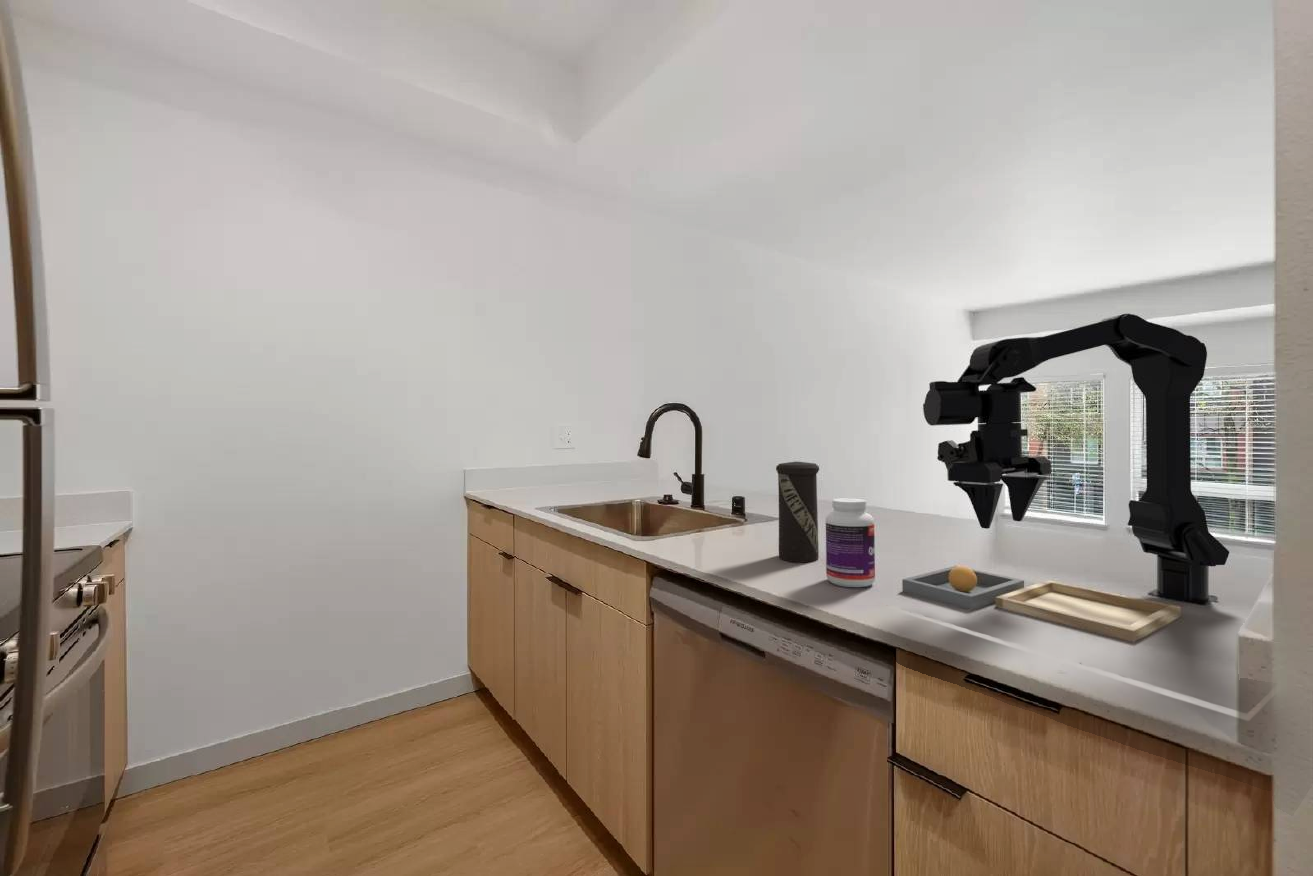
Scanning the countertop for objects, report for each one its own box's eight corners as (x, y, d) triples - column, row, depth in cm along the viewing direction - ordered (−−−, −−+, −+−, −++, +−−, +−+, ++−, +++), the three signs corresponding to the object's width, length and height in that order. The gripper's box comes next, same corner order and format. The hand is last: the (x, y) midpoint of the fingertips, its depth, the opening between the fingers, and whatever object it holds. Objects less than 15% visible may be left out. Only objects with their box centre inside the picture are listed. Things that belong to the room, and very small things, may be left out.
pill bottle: (879, 590, 90) (878, 503, 90) (828, 588, 92) (827, 502, 92) (870, 577, 98) (869, 497, 98) (823, 575, 100) (823, 496, 99)
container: (778, 562, 110) (777, 463, 109) (775, 552, 119) (774, 460, 118) (822, 563, 108) (821, 462, 108) (817, 553, 117) (816, 460, 117)
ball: (982, 592, 87) (982, 567, 87) (968, 596, 84) (968, 570, 84) (957, 586, 90) (957, 562, 90) (943, 590, 88) (943, 565, 88)
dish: (1048, 591, 88) (1048, 580, 88) (1180, 620, 75) (1180, 606, 75) (995, 609, 80) (995, 597, 80) (1133, 645, 66) (1133, 631, 66)
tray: (955, 579, 96) (955, 565, 96) (1024, 595, 86) (1024, 580, 86) (902, 594, 88) (902, 579, 88) (971, 613, 79) (971, 596, 79)
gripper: (979, 423, 96) (982, 512, 96) (913, 426, 86) (916, 525, 86) (1051, 421, 86) (1054, 520, 86) (986, 424, 77) (989, 535, 77)
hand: (1001, 524), depth 84 cm, fingers open, 9 cm apart
